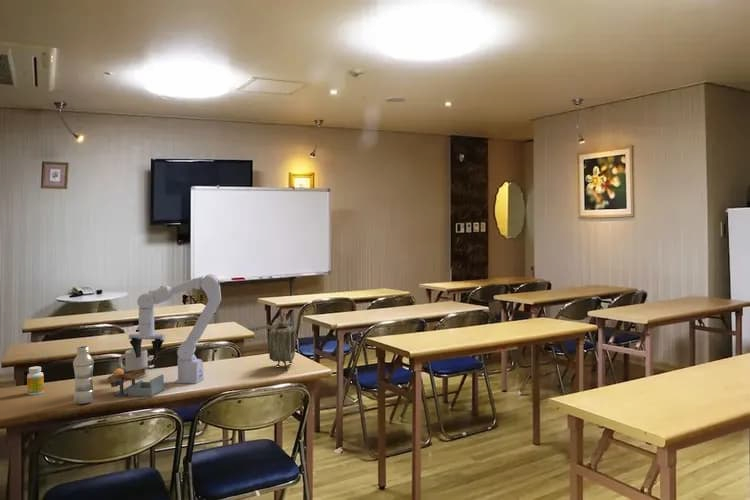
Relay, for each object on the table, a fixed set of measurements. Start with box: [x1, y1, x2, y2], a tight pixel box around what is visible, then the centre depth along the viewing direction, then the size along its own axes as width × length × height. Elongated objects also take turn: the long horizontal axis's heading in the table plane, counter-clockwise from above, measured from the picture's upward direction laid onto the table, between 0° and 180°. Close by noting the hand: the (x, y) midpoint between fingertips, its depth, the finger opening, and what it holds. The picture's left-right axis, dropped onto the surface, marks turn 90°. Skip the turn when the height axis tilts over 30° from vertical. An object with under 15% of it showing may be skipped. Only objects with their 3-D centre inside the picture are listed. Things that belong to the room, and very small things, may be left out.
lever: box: [107, 364, 155, 388], centre depth 220 cm, size 11×13×4 cm
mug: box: [118, 348, 149, 381], centre depth 240 cm, size 12×8×11 cm
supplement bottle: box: [26, 365, 45, 396], centre depth 217 cm, size 5×5×10 cm
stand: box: [113, 378, 136, 398], centre depth 217 cm, size 5×11×7 cm, turn 172°
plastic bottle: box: [72, 345, 96, 405], centre depth 204 cm, size 6×7×20 cm
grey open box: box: [127, 374, 165, 398], centre depth 216 cm, size 9×9×6 cm
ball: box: [112, 367, 125, 376], centre depth 217 cm, size 4×4×4 cm
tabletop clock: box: [268, 310, 296, 370], centre depth 252 cm, size 14×9×25 cm, turn 179°
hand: (147, 357), depth 229 cm, fingers open, 7 cm apart
